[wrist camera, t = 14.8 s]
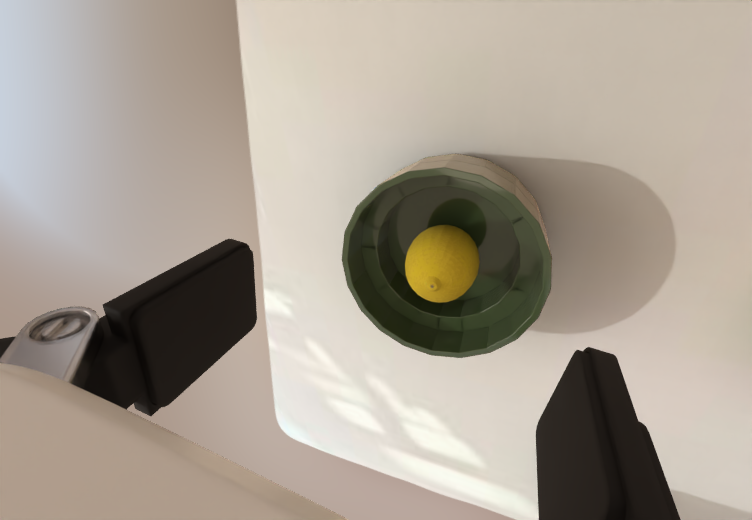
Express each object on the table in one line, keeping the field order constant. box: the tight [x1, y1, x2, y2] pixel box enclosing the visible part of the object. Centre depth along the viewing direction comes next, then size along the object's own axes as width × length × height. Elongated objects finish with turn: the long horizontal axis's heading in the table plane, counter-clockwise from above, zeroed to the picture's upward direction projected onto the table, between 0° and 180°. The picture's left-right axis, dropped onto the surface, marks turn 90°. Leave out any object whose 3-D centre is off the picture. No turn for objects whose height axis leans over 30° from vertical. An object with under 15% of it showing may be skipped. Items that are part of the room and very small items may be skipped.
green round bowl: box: [342, 154, 552, 358], centre depth 29 cm, size 15×15×6 cm
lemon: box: [405, 225, 480, 303], centre depth 27 cm, size 6×6×8 cm
